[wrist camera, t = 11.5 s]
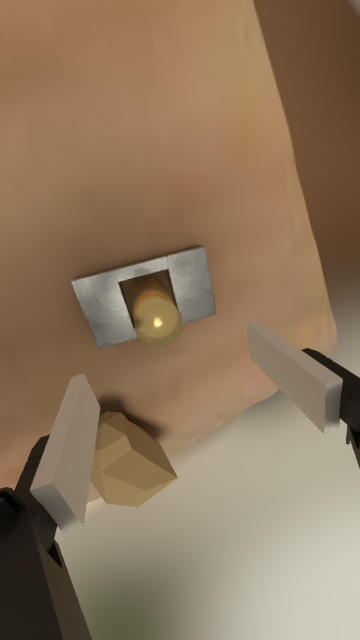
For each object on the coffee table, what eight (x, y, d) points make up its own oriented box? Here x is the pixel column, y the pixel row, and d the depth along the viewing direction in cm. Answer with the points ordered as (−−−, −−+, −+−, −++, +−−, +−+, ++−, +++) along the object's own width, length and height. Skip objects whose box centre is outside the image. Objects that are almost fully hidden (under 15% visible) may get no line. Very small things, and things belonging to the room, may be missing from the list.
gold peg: (137, 314, 32) (142, 352, 22) (127, 283, 30) (127, 310, 20) (168, 305, 32) (187, 339, 22) (160, 274, 30) (176, 296, 20)
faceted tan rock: (160, 454, 43) (196, 437, 35) (133, 529, 34) (173, 526, 27) (91, 410, 41) (114, 382, 34) (44, 477, 32) (62, 458, 25)
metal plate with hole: (101, 340, 32) (99, 349, 30) (75, 277, 28) (70, 281, 26) (210, 308, 34) (216, 314, 31) (198, 245, 30) (204, 246, 28)
